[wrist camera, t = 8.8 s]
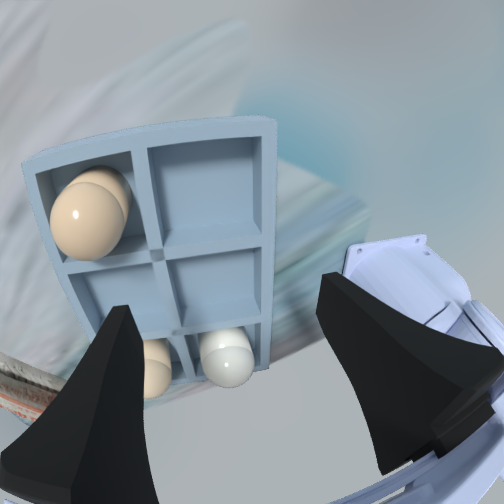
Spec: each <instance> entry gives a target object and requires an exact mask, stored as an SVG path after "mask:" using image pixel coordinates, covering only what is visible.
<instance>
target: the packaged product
mask: <svg viewBox="0 0 504 504" xmlns="http://www.w3.org/2000/svg"><path fill="white" fill-rule="evenodd" d="M67 381H68V380H65V379H62V378H60V377H57V376H55V375H52V374H50V373H47V372H44V371H42V370H39V369H37V368H35V367H32V366H30V365H28V364H25V363H23V362H21V361H19V360H16V359H14V358H12V357H10V356H8V355H6V354H3V353H1V352H0V407H2V408H4V409H6V410H8V411H10V412H13V413H15V414H17V415H19V416H21V417H23V418H26V419H29V420H31V421H33V422H35V421H36V419H37V418H38V417H39V416H40V415H41V414H42V413H43V412H44V410H45V409H46V408H47V407H48V406H49V404H50V403H51V402H52V401H53V400H54V398H55V397H56V396H57V395H58V393H59V392H60V391H61V389H62V388H63V387H64V385H65V384H66V382H67Z"/></svg>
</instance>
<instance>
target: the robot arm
mask: <svg viewBox="0 0 504 504" xmlns="http://www.w3.org/2000/svg"><path fill="white" fill-rule="evenodd" d="M426 240H427V236H426V235H425V234H418V235H411V236H405V237H400V238H393V239H387V240H380V241H375V242H368V243H362V244H355V245H351V246H350V247H349V248H348V250H347V255H346V260H345V265H344V270H343V275H341V274H339V273H338V272H333V273H327V274H322V280H321V286H320V292H319V298H318V303H317V309H316V315H317V318H318V320H319V323H320V325H321V328H322V330H323V333H324V335H325V337H326V339H327V340H328V342H329V344H330V346H331V347H332V349H333V351H334V353H335V355H336V356H337V358H338V360H339V362H340V363H341V365H342V367H343V369H344V370H345V372H346V374H347V376H348V378H349V380H350V381H351V384H352V386H353V388H354V390H355V393H356V395H357V398H358V400H359V403H360V405H361V408H362V411H363V414H364V416H365V419H366V422H367V425H368V428H369V432H370V435H371V438H372V442H373V446H374V450H375V454H376V458H377V463H378V468H379V470H380V471H381V474H382V475H386V474H388V473H390V472H391V471H393V470H395V469H397V468H399V467H401V466H402V465H404V464H406V463H408V462H409V461H411V460H412V461H413V464H411V465H409V466H407V467H406V468H404V469H402V470H400V471H398V472H397V473H395V474H393V475H391V476H389V477H387V478H385V479H383V480H382V481H379V482H377V483H375V484H373V485H371V486H369V487H367V488H365V489H362V490H360V491H358V492H356V493H353V494H351V495H349V496H346V497H344V498H341V499H339V500H336V501H333V502H331V503H328V504H371V503H373V502H375V501H377V500H379V499H381V498H383V497H385V496H387V495H389V494H391V493H393V492H395V491H396V490H398V489H400V488H402V487H404V486H405V485H406V486H405V490H404V492H402V493H400V494H398V495H396V496H393V497H391V498H389V499H387V500H385V501H383V502H381V503H379V504H477V503H478V501H479V500H480V499H481V498H482V497H483V495H484V494H485V493H486V492H487V490H488V489H489V488H490V487H491V485H492V484H493V483H494V481H495V480H496V479H497V477H498V476H500V477H501V479H502V480H503V481H504V325H503V324H502V323H501V322H500V321H499V320H498V319H497V318H496V317H495V316H494V315H493V314H492V313H491V312H490V311H489V310H488V309H487V308H486V307H485V306H484V305H483V304H482V303H481V302H479V301H478V300H472V301H471V296H470V291H469V288H468V286H467V284H466V282H465V280H464V279H463V278H462V277H461V275H460V274H459V273H457V272H456V271H455V270H454V269H453V268H452V267H451V266H450V265H448V264H447V263H446V262H445V261H444V260H443V259H442V258H441V257H439V256H438V255H437V254H436V253H435V252H434V251H432V250H431V249H430V248H429V247H428V246H426V245H425V244H426ZM358 249H359V250H358ZM357 250H358V251H357ZM144 378H145V358H144V342H143V340H142V337H141V335H140V332H139V330H138V328H137V325H136V323H135V320H134V318H133V315H132V313H131V310H130V307H129V305H119V306H113V307H112V308H111V310H110V312H109V313H108V315H107V317H106V318H105V320H104V322H103V324H102V325H101V327H100V329H99V331H98V332H97V334H96V336H95V338H94V339H93V341H92V343H91V344H90V346H89V348H88V349H87V351H86V353H85V354H84V356H83V358H82V359H81V361H80V362H79V364H78V366H77V367H76V369H75V370H74V372H73V373H72V375H71V376H70V378H69V379H68V381H67V382H66V384H65V385H64V387H63V388H62V389H61V391H60V392H59V393H58V395H57V396H56V397H55V398H54V400H53V401H52V402H51V403H50V404H49V406H48V407H47V408H46V409H45V410H44V412H43V413H42V414H41V415H40V416H39V417H38V418H37V419H36V421H35V422H34V423H33V424H32V425H31V426H30V427H29V428H28V429H27V430H26V431H25V432H24V433H23V434H22V435H21V436H20V437H19V438H17V439H16V440H15V441H14V442H13V443H12V444H10V445H9V446H8V447H7V448H6V449H5V450H3V451H2V452H1V456H0V488H1V489H2V490H4V491H6V492H8V493H10V494H12V495H15V496H17V497H19V498H21V499H24V500H26V501H29V502H31V503H34V504H159V502H158V498H157V495H156V491H155V488H154V484H153V479H152V475H151V471H150V465H149V461H148V455H147V448H146V441H145V433H144V422H143V421H144V420H143V410H144ZM4 504H17V503H15V502H12V501H9V500H7V499H5V500H4Z"/></svg>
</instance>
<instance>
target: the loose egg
mask: <svg viewBox="0 0 504 504" xmlns="http://www.w3.org/2000/svg"><path fill="white" fill-rule="evenodd" d="M131 206H132V191H131V187H130V185H129V183H128V181H127V180H126V178H125V177H124V176H123V175H122V174H121V173H120V172H119V171H117V170H116V169H114V168H111V167H108V166H103V165H98V166H92V167H89V168H87V169H85V170H84V171H82V172H81V173H80V174H79V175H78V176H77V177H76V178H75V179H74V180H73V181H72V182H71V183H70V184H69V185H68V186H67V187H66V188H65V189H64V190H63V191H62V192H61V193H60V194H59V196H58V197H57V199H56V200H55V202H54V205H53V207H52V210H51V215H50V229H51V234H52V237H53V239H54V241H55V243H56V245H57V246H58V248H59V249H60V250H61V251H62V252H63V253H64V254H66V255H67V256H69V257H70V258H72V259H75V260H78V261H94V260H97V259H100V258H102V257H104V256H106V255H107V254H108V253H110V252H111V251H112V250H113V249H114V248H115V246H116V245H117V244H118V242H119V240H120V238H121V236H122V233H123V230H124V227H125V224H126V221H127V218H128V215H129V212H130V210H131Z"/></svg>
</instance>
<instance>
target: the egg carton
mask: <svg viewBox="0 0 504 504" xmlns="http://www.w3.org/2000/svg"><path fill="white" fill-rule="evenodd" d="M98 165H103V166H108V167H111V168H114V169H116V170H117V171H119V172H120V173H121V174H122V175H123V176H124V177H125V178H126V180H127V181H128V183H129V185H130V187H131V191H132V206H131V210H130V212H129V215H128V218H127V221H126V224H125V227H124V230H123V233H122V236H121V238H120V240H119V242H118V244H117V245H116V246H115V248H114V249H113V250H112V251H111V252H110V253H108V254H107V255H106V256H104V257H102V258H100V259H97V260H94V261H78V260H75V259H72V258H70V257H69V256H67V255H66V254H64V253H63V252H62V251H61V250H60V249H59V248H58V246H57V245H56V243H55V241H54V239H53V237H52V234H51V229H50V215H51V210H52V207H53V205H54V202H55V200H56V199H57V197H58V196H59V194H60V193H61V192H62V191H63V190H64V189H65V188H66V187H67V186H68V185H69V184H70V183H71V182H72V181H73V180H74V179H75V178H76V177H77V176H78V175H79V174H80V173H81V172H82V171H84V170H85V169H87V168H89V167H92V166H98ZM21 166H22V171H23V175H24V180H25V184H26V188H27V191H28V195H29V199H30V202H31V206H32V209H33V212H34V216H35V219H36V222H37V225H38V228H39V231H40V234H41V237H42V240H43V242H44V245H45V248H46V250H47V253H48V256H49V258H50V261H51V263H52V265H53V268H54V270H55V273H56V275H57V277H58V280H59V282H60V284H61V286H62V288H63V291H64V293H65V295H66V297H67V299H68V301H69V303H70V305H71V307H72V309H73V311H74V313H75V315H76V317H77V319H78V321H79V323H80V324H81V326H82V328H83V330H84V332H85V333H86V335H87V337H88V339H89V340H90V342H91V343H92V341H93V339H94V338H95V336H96V334H97V332H98V331H99V329H100V327H101V325H102V324H103V322H104V320H105V318H106V317H107V315H108V313H109V312H110V310H111V308H112V307H113V306H119V305H129V307H130V310H131V313H132V315H133V318H134V320H135V323H136V325H137V328H138V330H139V332H140V335H141V337H142V340H150V339H158V338H166V337H167V338H168V340H169V342H170V356H171V370H172V379H171V384H170V385H176V384H184V383H192V382H199V381H206V380H209V379H208V378H207V377H206V375H205V374H204V371H203V369H202V363H201V357H200V350H199V344H198V337H197V334H198V333H202V332H209V331H215V330H221V329H227V328H233V327H239V326H244V327H245V330H246V333H247V337H248V340H249V343H250V346H251V349H252V352H253V355H254V361H255V365H254V370H253V372H256V371H261V370H265V369H269V361H270V342H271V323H272V301H273V278H274V250H275V218H276V173H277V120H274V119H271V118H268V117H265V116H261V115H254V116H231V117H216V118H204V119H194V120H185V121H177V122H169V123H162V124H155V125H149V126H143V127H137V128H131V129H126V130H121V131H116V132H111V133H107V134H102V135H98V136H93V137H89V138H85V139H81V140H78V141H74V142H70V143H67V144H63V145H60V146H56V147H53V148H50V149H46V150H43V151H41V152H40V153H38V154H36V155H34V156H32V157H31V158H29V159H27V160H26V161H24V162H22V163H21Z"/></svg>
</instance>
